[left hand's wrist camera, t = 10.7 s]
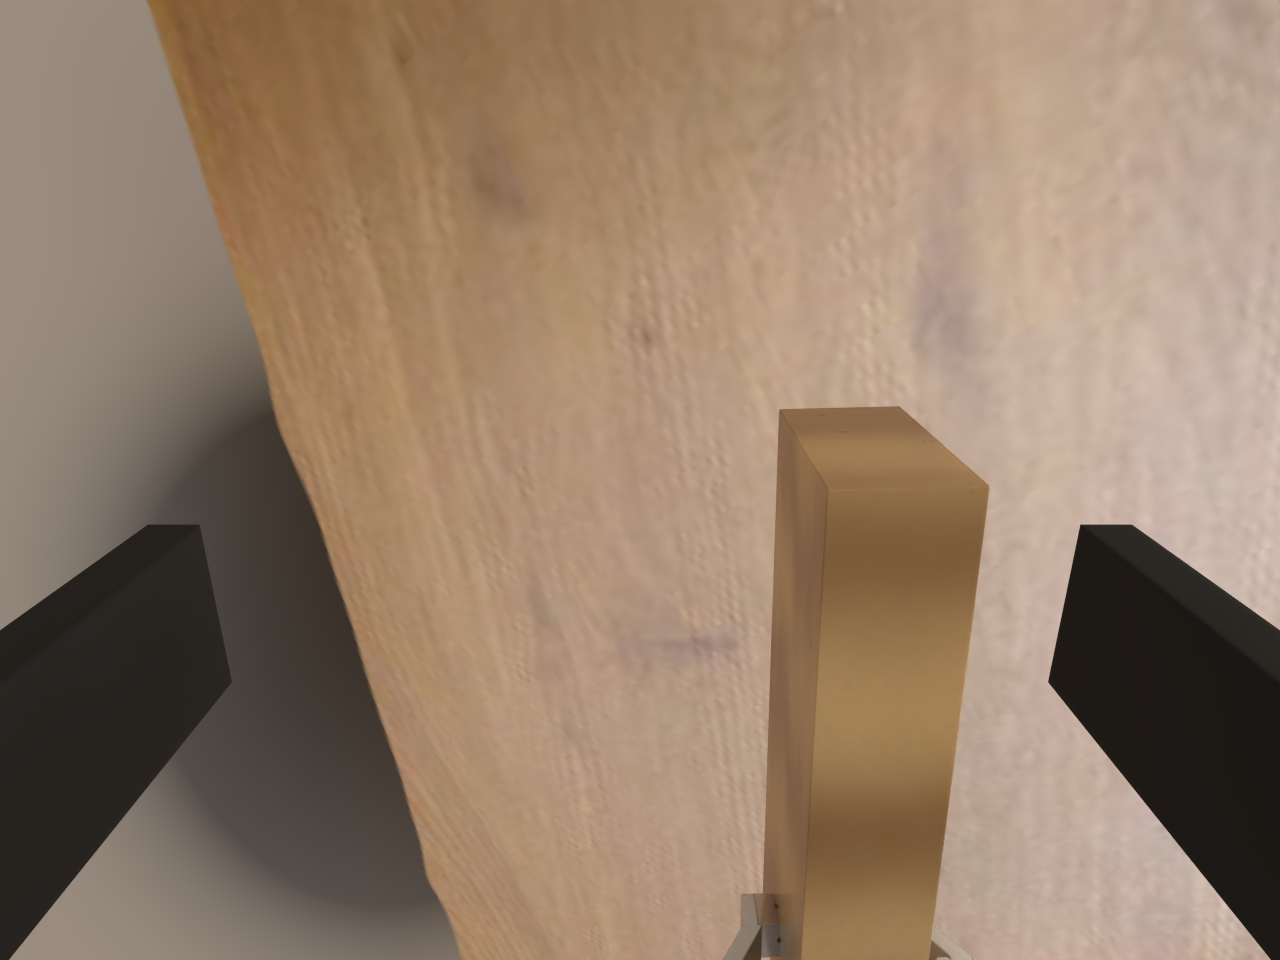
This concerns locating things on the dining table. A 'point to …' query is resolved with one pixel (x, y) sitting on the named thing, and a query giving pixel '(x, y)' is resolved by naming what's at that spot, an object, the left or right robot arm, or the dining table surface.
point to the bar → (865, 677)
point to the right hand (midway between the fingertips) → (826, 903)
